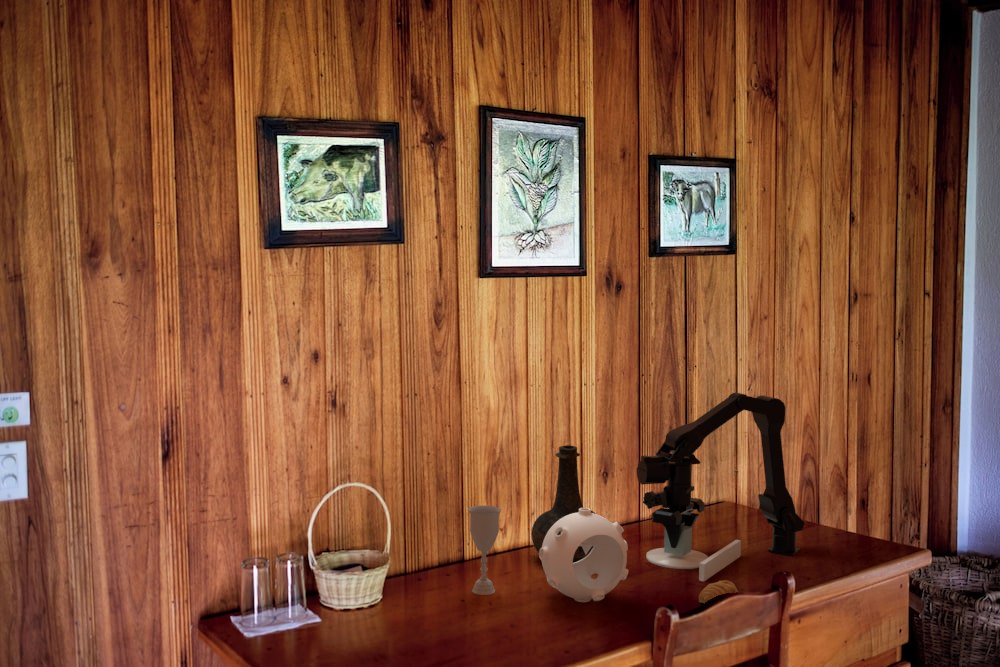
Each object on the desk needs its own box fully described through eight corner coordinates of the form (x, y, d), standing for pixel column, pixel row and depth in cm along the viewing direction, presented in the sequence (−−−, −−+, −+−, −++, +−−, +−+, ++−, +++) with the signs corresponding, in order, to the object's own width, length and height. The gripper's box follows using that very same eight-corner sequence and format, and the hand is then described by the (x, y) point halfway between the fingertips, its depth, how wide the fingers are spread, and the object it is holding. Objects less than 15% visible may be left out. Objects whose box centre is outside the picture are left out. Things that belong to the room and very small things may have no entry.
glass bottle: (620, 564, 225) (623, 448, 223) (561, 577, 214) (563, 456, 213) (573, 546, 239) (575, 437, 238) (516, 557, 229) (518, 443, 228)
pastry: (717, 610, 195) (717, 592, 194) (689, 602, 200) (690, 585, 199) (741, 600, 201) (742, 583, 201) (715, 593, 206) (715, 575, 206)
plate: (661, 547, 240) (661, 544, 240) (718, 557, 231) (718, 554, 231) (636, 561, 227) (636, 558, 227) (694, 573, 219) (694, 569, 219)
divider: (735, 555, 233) (736, 539, 233) (740, 556, 233) (740, 540, 233) (699, 580, 214) (699, 563, 213) (704, 581, 213) (704, 564, 213)
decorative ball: (605, 582, 211) (607, 496, 210) (643, 607, 195) (645, 514, 194) (523, 591, 204) (524, 502, 203) (556, 618, 188) (557, 522, 187)
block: (672, 547, 233) (673, 523, 232) (691, 551, 230) (692, 526, 229) (664, 552, 228) (664, 528, 228) (683, 555, 226) (684, 531, 225)
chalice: (504, 588, 206) (505, 507, 205) (494, 598, 200) (495, 514, 199) (473, 584, 209) (474, 504, 208) (462, 593, 202) (463, 511, 201)
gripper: (664, 471, 240) (663, 531, 241) (632, 484, 225) (631, 548, 226) (706, 477, 234) (704, 539, 235) (675, 490, 219) (674, 556, 220)
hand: (678, 545), depth 229 cm, fingers closed on block, 5 cm apart
